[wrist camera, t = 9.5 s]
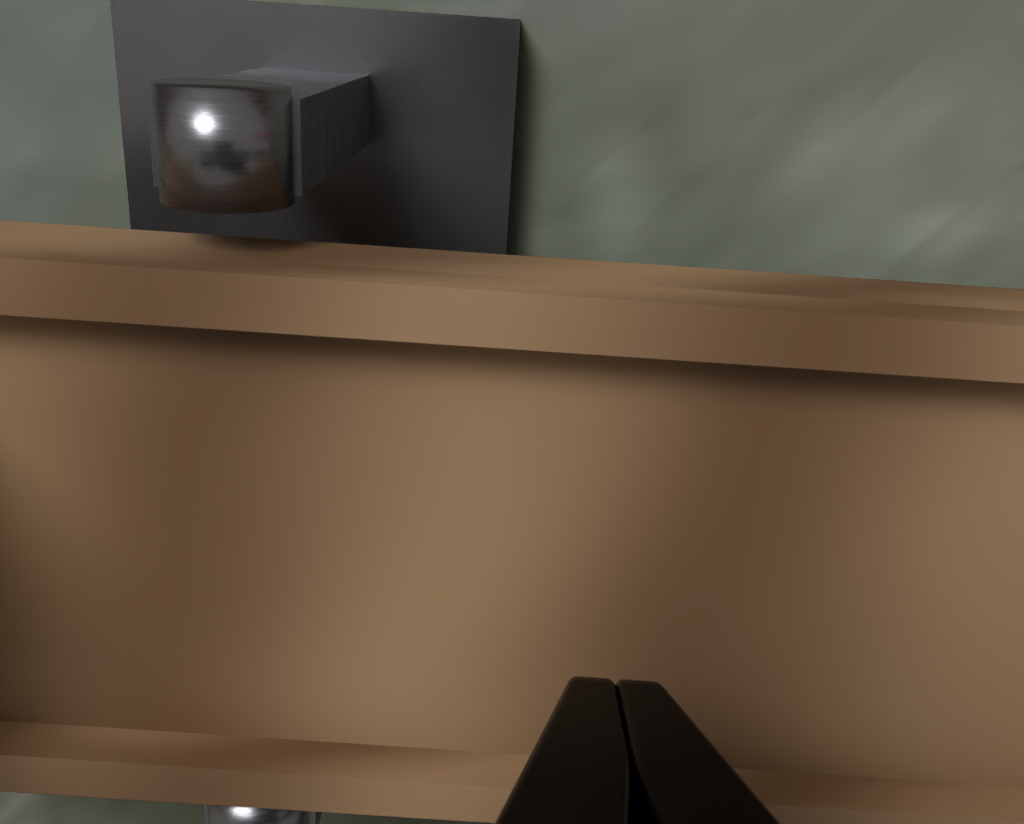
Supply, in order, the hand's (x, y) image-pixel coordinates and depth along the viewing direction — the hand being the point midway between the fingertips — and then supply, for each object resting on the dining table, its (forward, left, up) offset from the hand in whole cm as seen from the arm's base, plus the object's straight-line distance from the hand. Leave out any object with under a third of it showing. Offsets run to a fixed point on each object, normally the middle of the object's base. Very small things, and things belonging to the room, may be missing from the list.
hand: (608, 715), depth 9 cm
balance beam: (+4, 0, -3) cm, 5 cm away
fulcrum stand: (+4, 0, -9) cm, 10 cm away
